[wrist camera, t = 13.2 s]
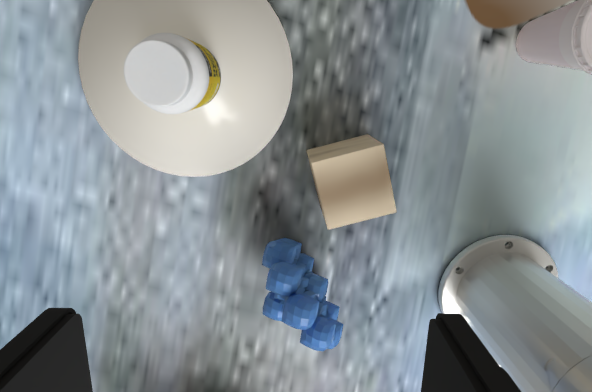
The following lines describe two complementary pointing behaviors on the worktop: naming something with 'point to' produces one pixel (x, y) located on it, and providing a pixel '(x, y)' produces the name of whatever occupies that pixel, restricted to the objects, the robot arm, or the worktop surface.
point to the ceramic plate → (204, 120)
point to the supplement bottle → (172, 73)
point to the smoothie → (559, 38)
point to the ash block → (352, 180)
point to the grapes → (299, 295)
